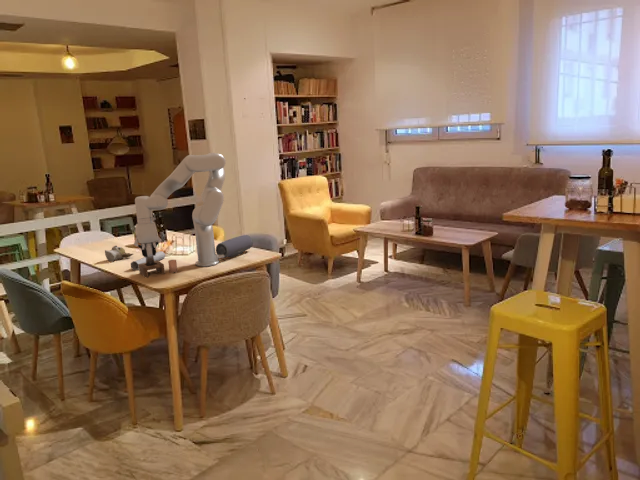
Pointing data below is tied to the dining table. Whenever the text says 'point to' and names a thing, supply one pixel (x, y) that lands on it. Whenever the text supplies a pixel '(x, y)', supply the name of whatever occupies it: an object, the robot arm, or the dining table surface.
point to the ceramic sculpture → (116, 254)
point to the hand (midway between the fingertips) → (149, 255)
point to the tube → (136, 263)
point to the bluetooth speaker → (234, 246)
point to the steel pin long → (149, 254)
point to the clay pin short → (172, 266)
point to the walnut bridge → (157, 266)
